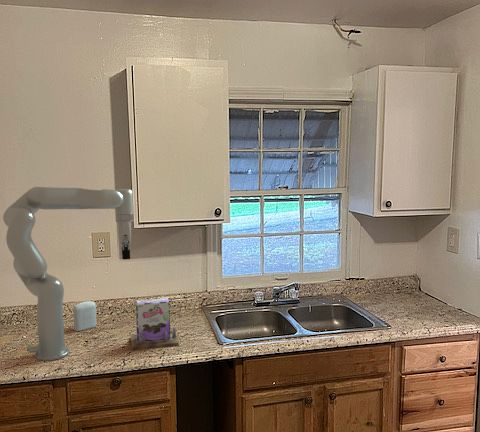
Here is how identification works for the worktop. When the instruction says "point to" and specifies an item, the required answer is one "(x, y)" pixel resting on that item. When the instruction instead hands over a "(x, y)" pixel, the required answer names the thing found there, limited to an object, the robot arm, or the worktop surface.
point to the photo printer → (84, 315)
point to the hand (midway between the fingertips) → (126, 257)
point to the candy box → (152, 319)
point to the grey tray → (158, 343)
